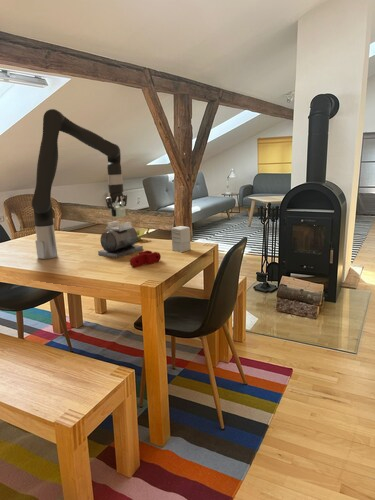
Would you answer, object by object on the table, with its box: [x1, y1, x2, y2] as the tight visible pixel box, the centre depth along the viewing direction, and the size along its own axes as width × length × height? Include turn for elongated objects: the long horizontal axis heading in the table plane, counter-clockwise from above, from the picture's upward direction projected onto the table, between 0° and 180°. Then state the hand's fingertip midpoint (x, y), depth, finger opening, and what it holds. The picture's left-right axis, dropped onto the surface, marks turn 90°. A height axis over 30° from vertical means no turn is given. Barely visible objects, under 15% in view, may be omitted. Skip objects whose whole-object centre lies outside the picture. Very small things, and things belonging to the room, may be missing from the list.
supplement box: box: [171, 225, 192, 253], centre depth 209 cm, size 7×7×13 cm
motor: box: [97, 220, 144, 259], centre depth 209 cm, size 20×14×16 cm
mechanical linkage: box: [129, 250, 162, 268], centre depth 188 cm, size 16×7×5 cm, turn 140°
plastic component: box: [136, 227, 146, 241], centre depth 236 cm, size 20×7×10 cm
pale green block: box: [109, 205, 127, 218], centre depth 205 cm, size 5×8×5 cm, turn 55°
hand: (118, 215), depth 206 cm, fingers closed on pale green block, 5 cm apart
